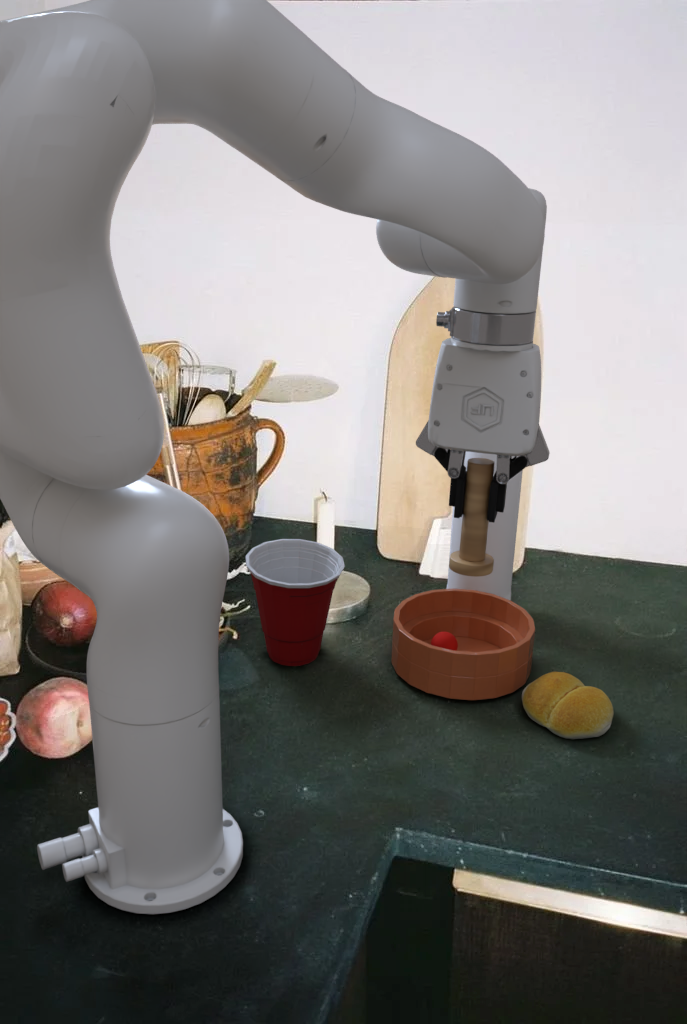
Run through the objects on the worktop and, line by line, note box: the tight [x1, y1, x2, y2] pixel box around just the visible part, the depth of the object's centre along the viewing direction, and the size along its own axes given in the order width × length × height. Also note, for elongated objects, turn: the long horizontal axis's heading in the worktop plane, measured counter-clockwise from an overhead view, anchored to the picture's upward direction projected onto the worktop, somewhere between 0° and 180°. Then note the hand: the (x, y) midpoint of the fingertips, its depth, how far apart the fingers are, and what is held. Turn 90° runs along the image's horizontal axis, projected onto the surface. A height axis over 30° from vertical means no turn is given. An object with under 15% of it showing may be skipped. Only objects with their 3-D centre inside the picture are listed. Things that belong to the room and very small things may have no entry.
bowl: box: [391, 588, 536, 701], centre depth 103 cm, size 15×15×6 cm
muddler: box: [448, 458, 495, 577], centre depth 92 cm, size 4×4×11 cm
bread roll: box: [521, 671, 614, 740], centre depth 95 cm, size 8×9×4 cm
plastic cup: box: [245, 538, 346, 667], centre depth 104 cm, size 11×11×12 cm
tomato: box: [431, 632, 458, 651], centre depth 104 cm, size 3×3×3 cm
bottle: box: [445, 451, 524, 601], centre depth 111 cm, size 8×8×30 cm
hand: (475, 514), depth 92 cm, fingers closed on muddler, 2 cm apart
